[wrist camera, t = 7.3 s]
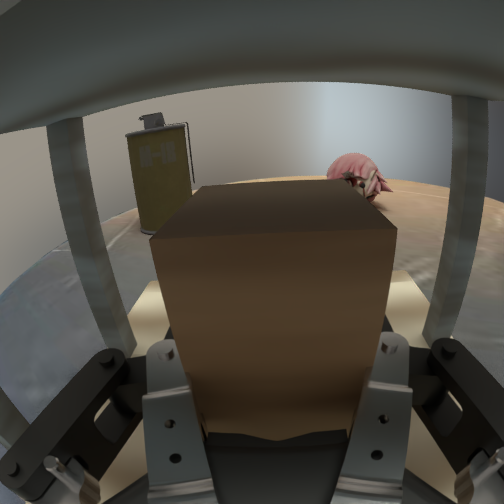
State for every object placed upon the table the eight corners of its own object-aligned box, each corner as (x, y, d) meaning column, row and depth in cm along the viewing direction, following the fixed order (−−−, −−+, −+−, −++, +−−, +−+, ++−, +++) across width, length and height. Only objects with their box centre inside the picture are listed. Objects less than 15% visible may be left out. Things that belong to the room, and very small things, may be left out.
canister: (139, 239, 47) (119, 118, 39) (142, 221, 56) (126, 121, 48) (203, 227, 50) (188, 106, 41) (195, 211, 59) (183, 111, 51)
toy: (392, 219, 43) (399, 193, 54) (373, 152, 40) (384, 141, 51) (325, 231, 50) (346, 204, 61) (304, 171, 47) (330, 156, 58)
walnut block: (234, 394, 15) (201, 186, 10) (327, 391, 14) (343, 179, 10) (223, 473, 10) (148, 239, 6) (337, 471, 10) (397, 228, 5)
